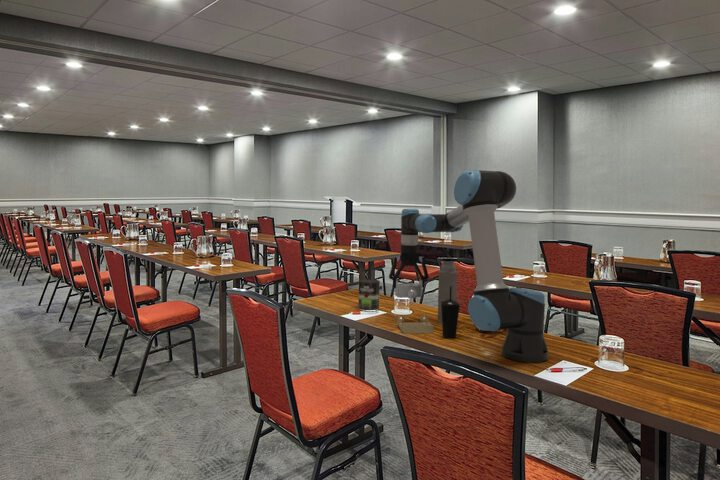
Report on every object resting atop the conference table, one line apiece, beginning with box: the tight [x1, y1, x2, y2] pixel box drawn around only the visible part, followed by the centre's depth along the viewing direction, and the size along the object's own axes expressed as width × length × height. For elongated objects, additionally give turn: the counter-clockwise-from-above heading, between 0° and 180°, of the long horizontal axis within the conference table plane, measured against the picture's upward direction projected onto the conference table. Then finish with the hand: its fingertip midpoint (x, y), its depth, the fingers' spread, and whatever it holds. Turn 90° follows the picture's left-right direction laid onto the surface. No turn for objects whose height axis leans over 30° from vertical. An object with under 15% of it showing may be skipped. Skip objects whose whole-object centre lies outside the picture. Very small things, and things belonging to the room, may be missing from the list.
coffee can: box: [357, 278, 381, 310], centre depth 239 cm, size 10×10×14 cm
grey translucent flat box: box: [396, 315, 435, 335], centre depth 203 cm, size 13×12×4 cm
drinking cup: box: [440, 286, 461, 340], centre depth 191 cm, size 8×8×20 cm
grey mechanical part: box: [397, 282, 422, 299], centre depth 212 cm, size 12×10×5 cm
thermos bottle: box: [437, 257, 458, 324], centre depth 216 cm, size 8×8×28 cm
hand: (408, 295), depth 215 cm, fingers closed on grey mechanical part, 10 cm apart
